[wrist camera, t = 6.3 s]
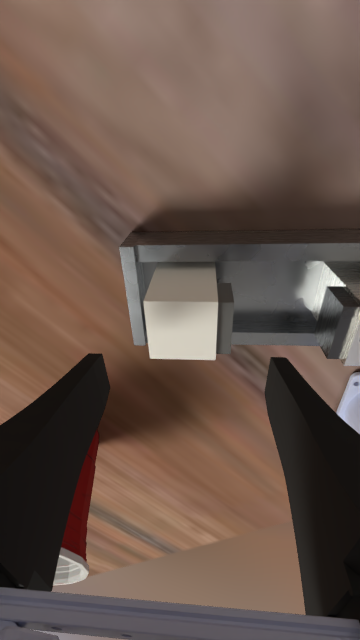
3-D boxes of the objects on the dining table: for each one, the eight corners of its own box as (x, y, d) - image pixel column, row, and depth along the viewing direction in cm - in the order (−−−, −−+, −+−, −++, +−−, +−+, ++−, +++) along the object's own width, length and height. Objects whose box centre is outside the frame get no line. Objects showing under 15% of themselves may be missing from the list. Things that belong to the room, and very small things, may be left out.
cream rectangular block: (158, 260, 18) (143, 301, 14) (227, 260, 18) (235, 302, 13) (162, 309, 20) (150, 358, 16) (224, 309, 20) (230, 360, 15)
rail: (354, 324, 21) (407, 390, 16) (142, 321, 22) (121, 382, 17) (388, 228, 17) (474, 271, 12) (130, 232, 19) (99, 272, 13)
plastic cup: (78, 470, 35) (27, 604, 25) (4, 421, 31) (-93, 559, 21) (144, 443, 31) (115, 589, 21) (70, 382, 27) (-11, 530, 17)
